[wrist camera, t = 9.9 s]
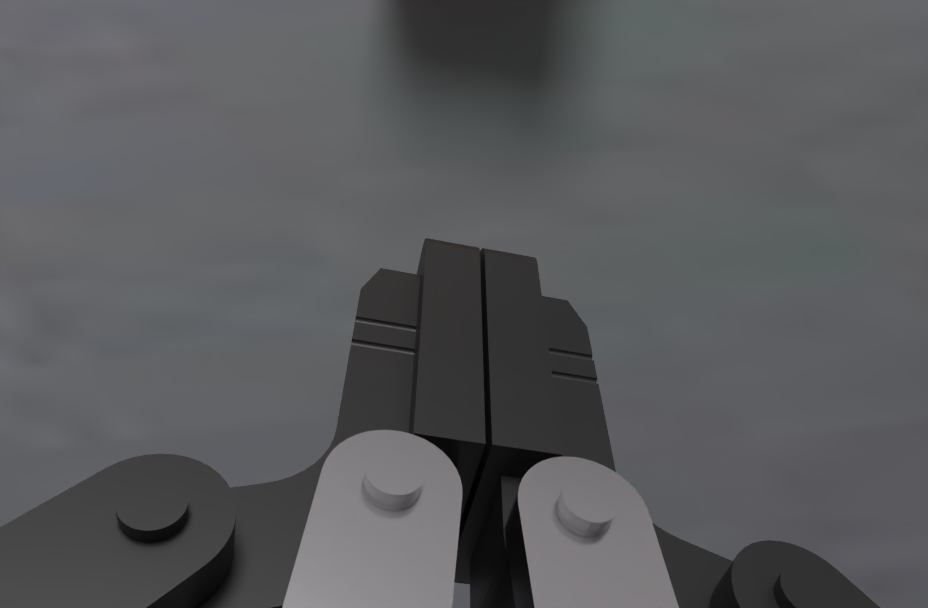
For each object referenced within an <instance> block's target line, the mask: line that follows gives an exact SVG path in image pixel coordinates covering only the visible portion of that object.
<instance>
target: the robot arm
mask: <svg viewBox="0 0 928 608" xmlns="http://www.w3.org/2000/svg"><path fill="white" fill-rule="evenodd" d="M596 381H597V375H596V370H595V365H594V361H593V360H592V350H591V345H590V340H589V335H588V330H587V326H586V325H585V324H584V322H583V321H582V320H581V318H580V317H579V316H578V314H577V313H576V312H575V310H574V309H573V307H572V306H571V305H570V303H569V302H568V301H567V300H562V299H556V298H550V297H545V296H542V295H541V288H540V280H539V273H538V265H537V260H536V258H534V257H529V256H523V255H518V254H512V253H506V252H501V251H495V250H490V249H484V248H482V249H481V251H480V250H479V248H477V247H472V246H466V245H461V244H455V243H450V242H444V241H438V240H433V239H427V238H426V239H425V241H424V245H423V248H422V253H421V257H420V262H419V266H418V271H417V275H416V274H411V273H405V272H399V271H393V270H388V269H382V268H381V269H380V270H379V271H378V272H377V273H376V274H375V275H374V276H373V277H372V278H371V279H370V280H369V281H368V282H367V283H366V284H365V285H364V286H363V287H362V288H361V291H360V297H359V303H358V308H357V314H356V320H355V326H354V331H353V337H352V343H351V348H350V354H349V360H348V366H347V371H346V377H345V383H344V389H343V394H342V400H341V406H340V411H339V417H338V423H337V429H336V433H335V436H334V439H333V441H332V443H331V445H330V447H329V449H328V450H327V451H326V453H325V454H324V455H323V456H322V457H321V458H320V459H319V460H318V461H317V462H316V463H315V464H313V465H312V466H310V467H309V468H307V469H306V470H304V471H302V472H300V473H298V474H296V475H294V476H292V477H288V478H285V479H282V480H279V481H274V482H269V483H263V484H255V485H248V486H241V487H233V488H230V487H229V486H228V484H227V482H226V481H225V480H224V479H223V478H222V477H221V475H220V474H219V473H217V472H216V471H215V470H213V469H212V468H211V467H209V466H207V465H206V464H204V463H202V462H200V461H197V460H194V459H191V458H188V457H184V456H179V455H172V454H152V455H143V456H138V457H133V458H130V459H127V460H124V461H121V462H118V463H116V464H114V465H112V466H109V467H107V468H105V469H104V470H102V471H100V472H98V473H96V474H95V475H93V476H91V477H89V478H87V479H86V480H84V481H82V482H80V483H79V484H77V485H75V486H73V487H71V488H70V489H68V490H66V491H64V492H63V493H61V494H59V495H57V496H55V497H54V498H52V499H50V500H48V501H46V502H45V503H43V504H41V505H39V506H38V507H36V508H34V509H32V510H30V511H29V512H27V513H25V514H23V515H22V516H20V517H18V518H16V519H14V520H13V521H11V522H9V523H7V524H6V525H4V526H2V527H0V608H452V601H453V590H454V582H456V583H464V584H470V608H880V607H879V606H878V605H876V604H875V603H874V602H873V601H872V600H871V599H870V598H869V597H867V596H866V595H865V594H864V593H863V592H862V591H861V590H859V589H858V588H857V587H856V586H855V585H854V584H853V583H851V582H850V581H849V580H848V579H847V578H846V577H845V576H844V575H842V574H841V573H840V572H839V571H838V570H837V569H835V568H834V567H833V566H832V565H830V564H829V563H828V562H827V561H825V560H823V559H822V558H820V557H819V556H817V555H816V554H814V553H812V552H810V551H808V550H806V549H804V548H801V547H799V546H796V545H793V544H790V543H785V542H781V541H771V540H770V541H759V542H756V543H752V544H750V545H748V546H747V547H745V548H744V549H743V550H741V551H740V552H739V553H738V555H737V556H736V558H735V559H734V561H731V560H728V559H726V558H724V557H721V556H719V555H716V554H714V553H712V552H709V551H707V550H705V549H702V548H700V547H698V546H695V545H693V544H690V543H688V542H686V541H683V540H681V539H679V538H677V537H675V536H673V535H671V534H669V533H667V532H665V531H664V530H662V529H661V528H659V527H657V526H656V525H655V524H653V523H652V520H651V517H650V514H649V512H648V509H647V507H646V505H645V503H644V501H643V500H642V498H641V496H640V495H639V494H638V492H637V491H636V490H635V489H634V488H633V486H632V485H630V484H629V483H628V482H627V481H626V480H625V479H624V478H623V477H621V476H620V475H619V474H617V473H616V471H615V466H614V460H613V455H612V450H611V445H610V440H609V435H608V430H607V425H606V420H605V415H604V410H603V405H602V400H601V395H600V390H599V385H598V384H596Z"/></svg>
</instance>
